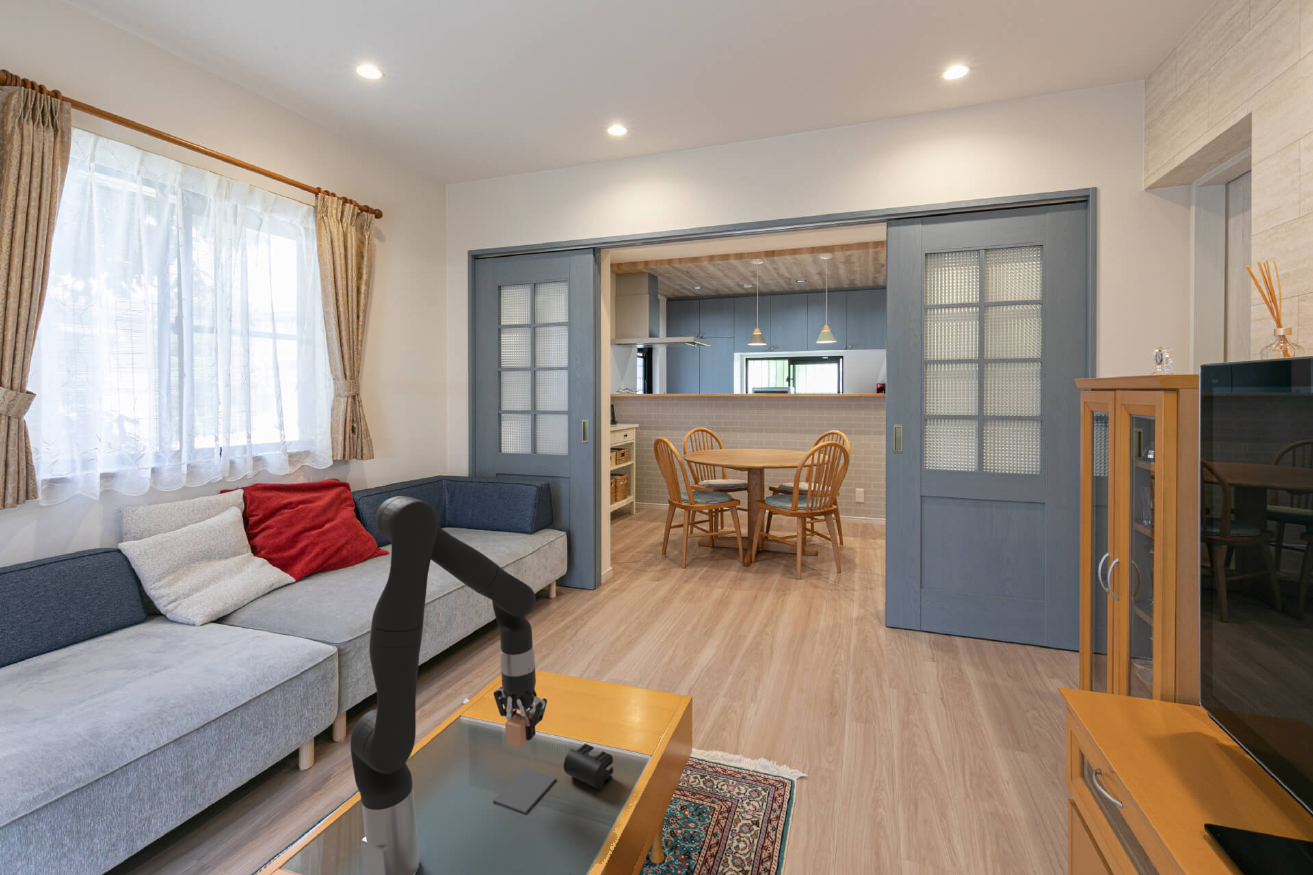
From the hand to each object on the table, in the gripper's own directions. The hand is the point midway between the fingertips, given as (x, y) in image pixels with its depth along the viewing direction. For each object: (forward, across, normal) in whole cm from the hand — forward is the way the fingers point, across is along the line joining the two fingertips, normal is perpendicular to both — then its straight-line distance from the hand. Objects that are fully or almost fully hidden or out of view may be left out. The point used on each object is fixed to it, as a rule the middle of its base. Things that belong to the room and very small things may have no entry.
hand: (522, 735), depth 143 cm
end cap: (+14, +12, +9) cm, 21 cm away
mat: (+14, 0, 0) cm, 14 cm away
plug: (+1, 0, +1) cm, 1 cm away
